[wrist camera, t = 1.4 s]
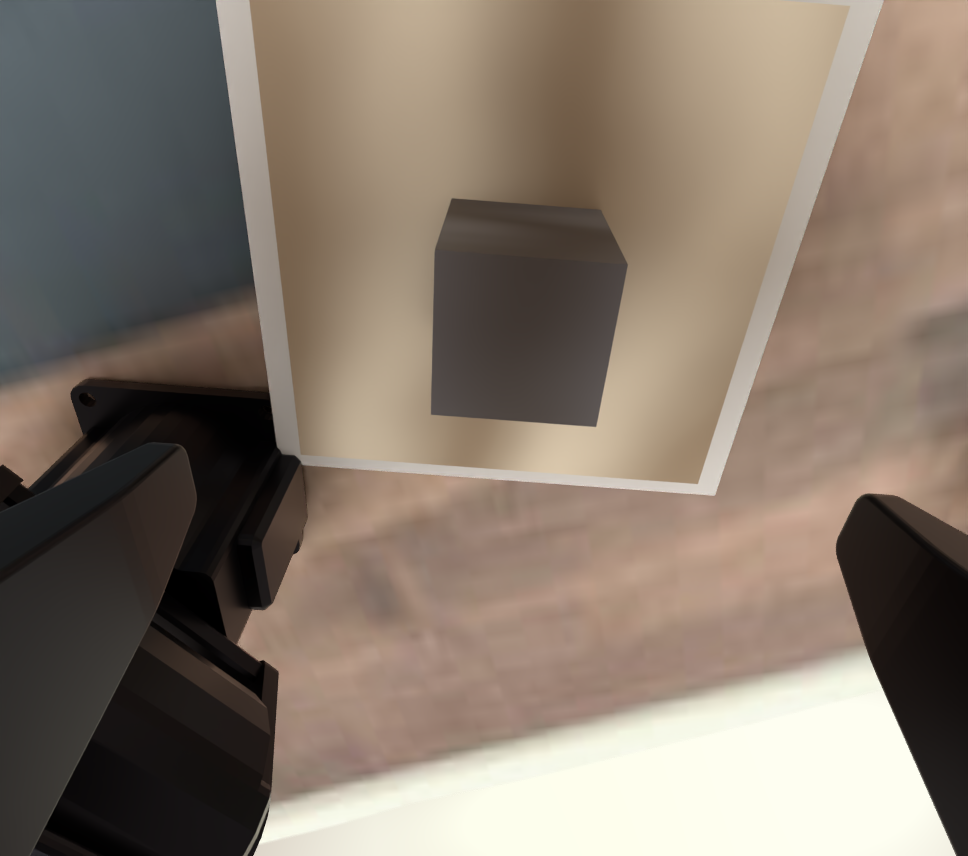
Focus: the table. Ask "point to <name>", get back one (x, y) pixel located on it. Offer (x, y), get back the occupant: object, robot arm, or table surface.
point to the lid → (529, 219)
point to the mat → (276, 351)
